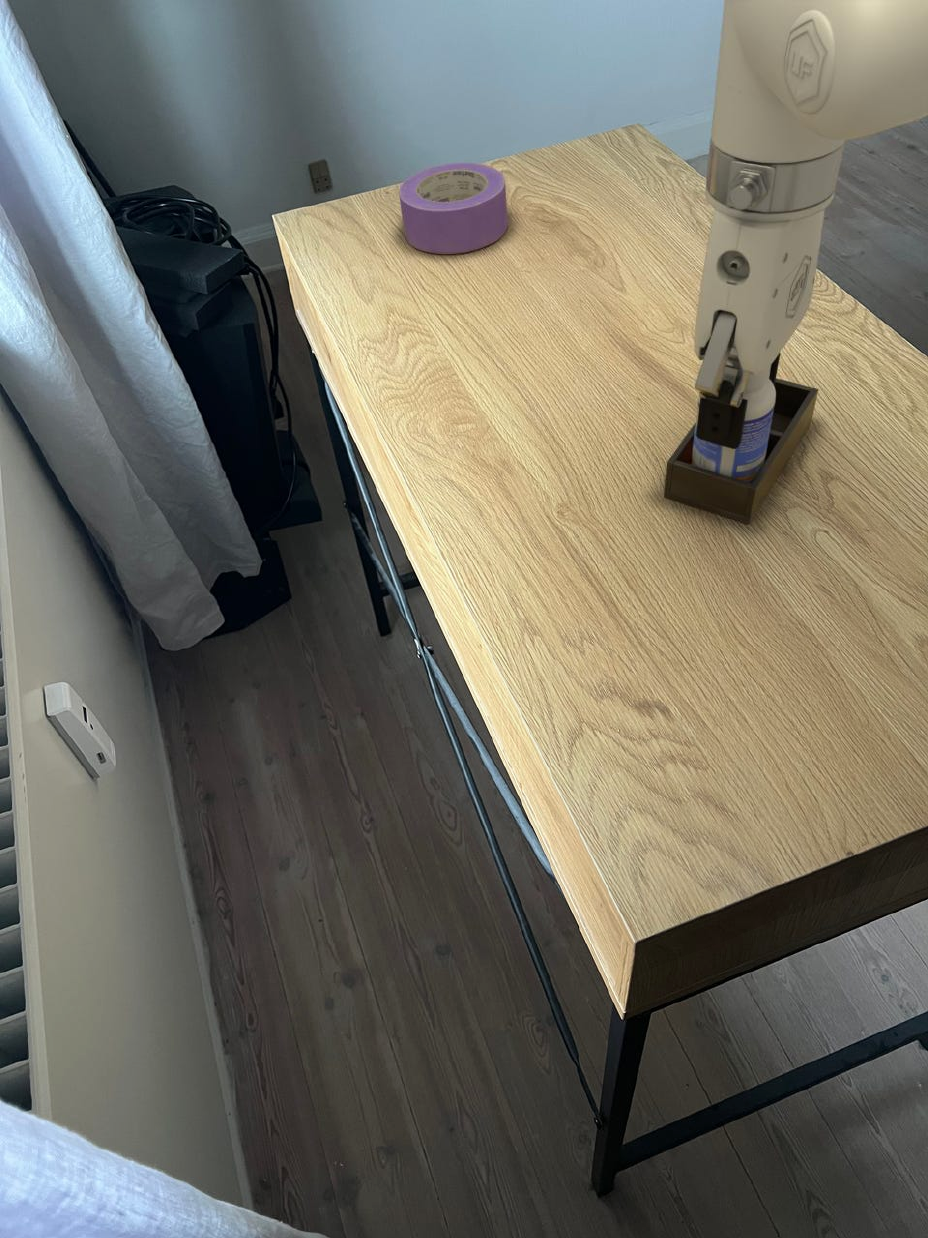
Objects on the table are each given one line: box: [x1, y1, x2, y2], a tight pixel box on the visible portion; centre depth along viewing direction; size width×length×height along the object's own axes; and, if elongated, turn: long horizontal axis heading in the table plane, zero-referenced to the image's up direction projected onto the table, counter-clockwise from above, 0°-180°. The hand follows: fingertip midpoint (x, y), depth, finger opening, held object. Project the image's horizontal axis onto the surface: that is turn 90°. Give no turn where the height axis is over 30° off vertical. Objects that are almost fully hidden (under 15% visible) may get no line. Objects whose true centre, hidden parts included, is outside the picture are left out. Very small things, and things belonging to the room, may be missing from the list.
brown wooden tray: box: [663, 377, 819, 525], centre depth 74 cm, size 7×14×4 cm, turn 147°
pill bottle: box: [692, 348, 776, 483], centre depth 69 cm, size 5×5×10 cm
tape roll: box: [398, 162, 509, 255], centre depth 103 cm, size 12×12×5 cm
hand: (734, 415), depth 69 cm, fingers closed on pill bottle, 5 cm apart
